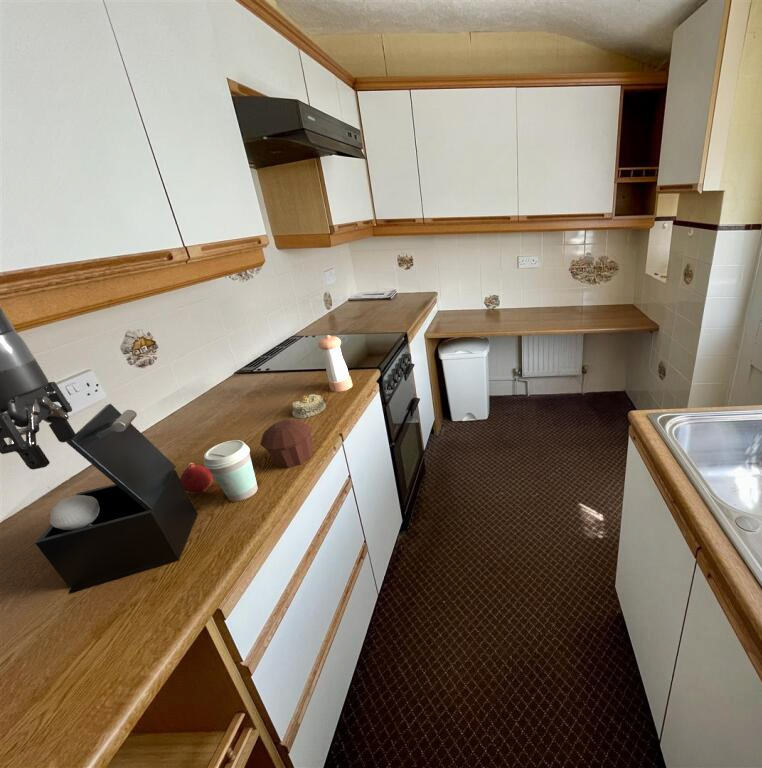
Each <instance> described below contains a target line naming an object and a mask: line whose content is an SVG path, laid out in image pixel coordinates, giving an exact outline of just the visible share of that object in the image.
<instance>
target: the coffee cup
mask: <svg viewBox="0 0 762 768" xmlns="http://www.w3.org/2000/svg"><path fill="white" fill-rule="evenodd" d="M250 452H251V448H250V447H249V446H248V445H247V444H246V443H245V442H244V441H243V440H239V439H234V440H233V439H232V440H227V441H224V442H220V443H218V444H216V445H214V446H212V447H210V448H209V449H208V450H206V452H205V453H204V455H203V465H204V467H206V468H208V469H209V470H210V472H211V473H212V475H213V479H215V481H216V483H217V485H219V487H220V488H221V490H222V491H223V493H224V494H225V496H226V497H227V499H228V500H229V501H230V502H241V501H245V500H247V499H249V498H251V497H252V496H254V495H255V494H256V493H257V491H258V489H259V487H258V482H257V478H256V474H255V469H254V467H253V462H252V458H251V453H250Z"/></svg>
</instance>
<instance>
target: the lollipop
mask: <svg viewBox="0 0 762 768" xmlns="http://www.w3.org/2000/svg"><path fill="white" fill-rule="evenodd" d="M99 511H100V507H99V504H98V501H97V499H95V498H94V497H91V496H85V495H76V494H75V495H71V496H67V497H65V498H64V499H62V500H60V501H58V502H57V503H55V505H54V506H53V507H52V508H51V511H50V514H49V519H50V520H49V522H50V525H51V524H52V526H53V527H55V528H59V529H62V530H77V529H81V528H84V527H86V526H92V524H91V523H92V522H93V521H94V520H95V519H96V518H97V516H98V514H99Z"/></svg>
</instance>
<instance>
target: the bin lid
mask: <svg viewBox="0 0 762 768" xmlns="http://www.w3.org/2000/svg"><path fill="white" fill-rule="evenodd" d="M137 415H138V413H137V412H136V411H135V410H133V409H126V410H124V412H123V413H121V412H120V411H119V410H118V409H117V408H116V407H115V406H114V405H112V403H109V404H106V405H105V406H104V407H103V408H102V409H100V410H99V411H98V412H97V413H96V414H95V415H94V416H93V417H92V418H91V419H90V420H89V421H88V422H87V423H86V424H85V425H83V426H82V427H81V428H80V429H79V430H78V431H77V432H75V435H74V436H73V437H72V438H71V439H70V440H69V441H67V442H66V444H68V445H69V447H71V448H72V449H73V450H74V451H76V453H78V454H79V455H80V456H82V457H83V458H84V459H85V460H86V461H88V463H90V464H91V465H92V466H94V467H95V469H97V470H98V471H99V472H100V473H102V474H103V475H104V476H105V477H106V478H108V479H109V480H110V481H112V483H113V484H116V485H117V486H118V487H120V488H121V489H122V490H123V491H124V492H125V493H127V494H128V495H129V496H130V497H131V498H133V499H134V500H135V501H136V502H137V503H138V504H140V505H141V506H142V507H143V508H144V509H146V510H147V511H149V510H151V509H152V508H153V507H154V505H155V503H156V501H157V500H158V498H159V496H160V494H161V492H162V491H163V489H164V487H165V485H166V484H167V482H168V480H169V478H170V476H171V475H172V473H173V471H174V470H176V467H177V466H176V465H175V464H174V463H173V462H172V461H171V460H170V459H168V457H167V456H166V455H164V454H163V452H162V451H161V450H159V449H158V448H157V446H155V444H153V443H152V442H151V441H150V440H149V439H148V438H147V437H146V436H145V435H143V433H142V432H141V431H140V430H139V429H138V428H137V427H135V426H134V424H133V423H132V422H133V421H134V420H135V419H136V417H137Z"/></svg>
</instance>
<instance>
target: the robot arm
mask: <svg viewBox="0 0 762 768" xmlns="http://www.w3.org/2000/svg"><path fill="white" fill-rule="evenodd" d="M28 346H29V345H28V344H27V343H26V342H25V340H24V339H23V337H21V335H19V333H18V332H17V330H16V329H15V327H14V326H13V323H12V322H11V321H10V319H9V318H8V316H7V314H6V312H5V311H4V309H3V308H2V307H1V306H0V454H1V455H5V454H10V453H14V452H15V453H17V454H18V455H19V457H20V458H21V460H22V461H23V463H24V464H25V465H26V467H27V468H28V469H30V470H38V469H43V468H47V466H50V463H51V462H50V460H49V458H48V457H47V455H46V454H45V452H44V451H43V450H42V448H41V447H40V445H39V444H37V433H39V431H40V424H41V423H42V422H43V421H44V422H46V423H48V427H49V428H50V429H51V431H52V433H53V434H54V436H55V437H56V439H57V440H58V442H60V443H62V444H63V443H67V441H69V440H70V439H71V438H72V437H73V436H74V435H75V434H76V431H75V430H74V429H73V427H72V426H71V424H70V422H69V421H68V420H69V413H72V411H73V407H72V406H71V404H70V402H69V401H68V399H67V398H66V396H65V395H64V394H63V392H62V390H61V389H60V387H59V386H58V384H57V383H56V381H49V379H48V378H47V376H46V374H45V372H44V371H43V369H42V367H41V366H40V364H39V363H38V361H37V359H36V358H35V356H34V354H33V352H32V351H31V349H30V348H29V347H28ZM57 403H58V404H59V405H58V404H57ZM17 427H18V428H17ZM23 436H25V439H24V438H23ZM5 439H8V443H7V441H6V440H5Z"/></svg>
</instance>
